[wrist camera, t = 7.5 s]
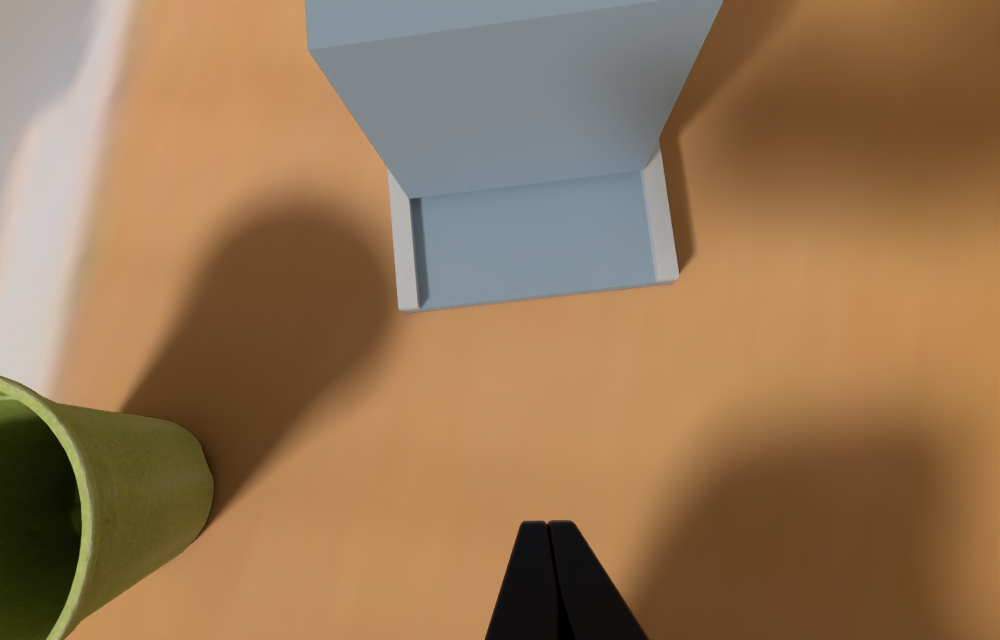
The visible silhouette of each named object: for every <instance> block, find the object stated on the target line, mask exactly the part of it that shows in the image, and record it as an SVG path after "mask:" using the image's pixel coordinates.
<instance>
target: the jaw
mask: <svg viewBox="0 0 1000 640" xmlns="http://www.w3.org/2000/svg"><path fill="white" fill-rule="evenodd" d="M723 1H724V0H305V7H306V25H307V42H308V51H309V52H310V54H311V55H312V57H313V58H314V60H315V61H316V63H317V64H318V66H319V67H320V69H321V70H322V72H323V73H324V74H325V76H326V77H327V79H328V80H329V82H330V83H331V85H332V86H333V88H334V89H335V91H336V92H337V94H338V95H339V97H340V98H341V100H342V101H343V103H344V104H345V106H346V107H347V109H348V110H349V111H350V113H351V114H352V116H353V117H354V119H355V120H356V122H357V123H358V125H359V126H360V128H361V129H362V131H363V132H364V134H365V135H366V137H367V138H368V140H369V141H370V143H371V144H372V145H373V147H374V148H375V150H376V151H377V153H378V154H379V156H380V157H381V159H382V160H383V162H384V163H385V165H386V166H387V168H388V169H389V171H390V172H391V174H392V175H393V177H394V178H395V179H396V181H397V182H398V184H399V185H400V187H401V188H402V190H403V191H404V193H405V194H406V196H407V197H408V199H413V198H421V197H429V196H437V195H445V194H453V193H461V192H469V191H477V190H485V189H494V188H502V187H510V186H518V185H526V184H534V183H542V182H550V181H558V180H566V179H575V178H583V177H591V176H599V175H607V174H615V173H623V172H631V171H639V170H644V169H645V167H646V164H647V162H648V160H649V158H650V156H651V154H652V152H653V150H654V147H655V145H656V143H657V141H658V139H659V137H660V135H661V133H662V130H663V128H664V126H665V124H666V122H667V120H668V118H669V116H670V113H671V111H672V109H673V107H674V105H675V103H676V101H677V99H678V96H679V94H680V92H681V90H682V88H683V86H684V84H685V82H686V79H687V77H688V75H689V73H690V71H691V69H692V67H693V65H694V62H695V60H696V58H697V56H698V54H699V52H700V50H701V48H702V45H703V43H704V41H705V39H706V37H707V35H708V33H709V31H710V28H711V26H712V24H713V22H714V20H715V18H716V16H717V14H718V11H719V9H720V7H721V5H722V3H723Z"/></svg>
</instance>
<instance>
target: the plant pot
mask: <svg viewBox="0 0 1000 640" xmlns="http://www.w3.org/2000/svg"><path fill="white" fill-rule="evenodd" d="M213 494H214V480H213V476H212V474H211V471H210V469H209V467H208V465H207V462H206V459H205V456H204V453H203V450H202V446H201V444H200V443H199V441H198V440H197V439H196V438H195V437H194V436H193V435H192V434H191V433H190V432H189V431H188V430H186V429H185V428H183V427H182V426H180V425H178V424H176V423H174V422H171V421H168V420H165V419H159V418H153V417H146V416H140V415H133V414H124V413H117V412H110V411H103V410H97V409H90V408H84V407H78V406H72V405H65V404H59V403H56V402H53V401H51V400H49V399H47V398H44V397H42V396H41V395H39V394H38V393H36V392H35V391H33V390H32V389H30V388H28V387H26V386H24V385H23V384H21V383H18V382H16V381H13V380H11V379H8V378H5V377H2V376H0V640H64V639H65V638H66V637H67V636H68V635H69V634H70V633H71V632H72V631H73V630H74V629H75V628H76V626H77V625H78V624H79V623H80V622H81V621H82V620H83V619H85V618H86V617H88V616H89V615H91V614H92V613H94V612H95V611H97V610H98V609H100V608H101V607H103V606H104V605H105V604H107V603H108V602H110V601H111V600H113V599H114V598H116V597H117V596H119V595H120V594H122V593H123V592H125V591H126V590H127V589H129V588H130V587H132V586H133V585H135V584H136V583H138V582H139V581H141V580H142V579H144V578H145V577H147V576H148V575H150V574H151V573H153V572H154V571H156V570H157V569H159V568H160V567H162V566H163V565H165V564H166V563H168V562H169V561H171V560H172V559H174V558H175V557H176V556H178V555H179V554H180V553H182V552H183V551H184V550H185V549H186V548H187V547H188V546H189V545H190V544H191V543H192V542H193V541H194V540H195V538H196V537H197V536H198V534H199V533H200V531H201V530H202V528H203V526H204V525H205V523H206V521H207V518H208V515H209V512H210V510H211V505H212V500H213Z"/></svg>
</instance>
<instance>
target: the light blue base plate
mask: <svg viewBox="0 0 1000 640" xmlns="http://www.w3.org/2000/svg"><path fill="white" fill-rule="evenodd" d="M388 181H389V194H390V207H391V220H392V233H393V246H394V259H395V272H396V285H397V298H398V309H399V310H401V311H403V312H404V313H415V312H424V311H433V310H442V309H451V308H460V307H469V306H478V305H487V304H496V303H505V302H513V301H522V300H531V299H540V298H549V297H558V296H567V295H576V294H585V293H594V292H603V291H612V290H621V289H630V288H639V287H648V286H657V285H666V284H672V283H673V282H675V281H676V280H677V279H678V278H679V270H678V264H677V257H676V250H675V243H674V237H673V230H672V223H671V216H670V210H669V203H668V196H667V189H666V183H665V176H664V169H663V163H662V156H661V149H660V142H659V139H658V141H657V143H656V145H655V147H654V150H653V152H652V154H651V156H650V158H649V160H648V162H647V164H646V167H645V169H644V170H639V171H631V172H623V173H615V174H607V175H599V176H591V177H583V178H575V179H566V180H558V181H550V182H542V183H534V184H526V185H518V186H510V187H502V188H494V189H485V190H477V191H469V192H461V193H453V194H445V195H437V196H429V197H421V198H413V199H408V197H407V196H406V194H405V193H404V191H403V190H402V188H401V187H400V185H399V184H398V182H397V181H396V179H395V178H394V177H393V175H392V174H391V172H390V171H389V169H388Z"/></svg>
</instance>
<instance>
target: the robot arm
mask: <svg viewBox="0 0 1000 640" xmlns="http://www.w3.org/2000/svg"><path fill="white" fill-rule="evenodd" d="M485 640H649V638H648V637H647V635H646V633H645V632H644V630H643V629H642V627H641V626H640V624H639V623H638V621H637V619H636V618H635V616H634V615H633V613H632V612H631V610H630V608H629V607H628V605H627V604H626V602H625V601H624V599H623V598H622V596H621V594H620V593H619V591H618V590H617V588H616V587H615V585H614V584H613V582H612V580H611V579H610V577H609V576H608V574H607V573H606V571H605V569H604V568H603V566H602V565H601V563H600V562H599V560H598V559H597V557H596V555H595V554H594V552H593V551H592V549H591V548H590V546H589V545H588V543H587V541H586V540H585V538H584V537H583V535H582V534H581V532H580V530H579V529H578V527H577V526H576V525H575V523H574V522H572V521H570V520H552V521H549V522H548V524H546V522H544V521H523V522H522V523H521V525H520V527H519V531H518V534H517V537H516V540H515V543H514V547H513V550H512V553H511V556H510V560H509V563H508V566H507V569H506V572H505V576H504V579H503V582H502V585H501V589H500V592H499V595H498V598H497V602H496V605H495V608H494V611H493V614H492V618H491V621H490V624H489V627H488V631H487V634H486V637H485Z"/></svg>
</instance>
